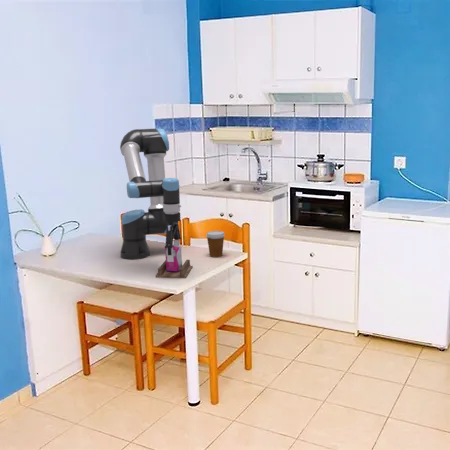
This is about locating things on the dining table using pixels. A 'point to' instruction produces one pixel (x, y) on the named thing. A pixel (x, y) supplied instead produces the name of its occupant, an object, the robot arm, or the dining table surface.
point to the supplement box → (177, 258)
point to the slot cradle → (181, 274)
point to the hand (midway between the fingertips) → (173, 257)
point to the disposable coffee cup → (215, 243)
